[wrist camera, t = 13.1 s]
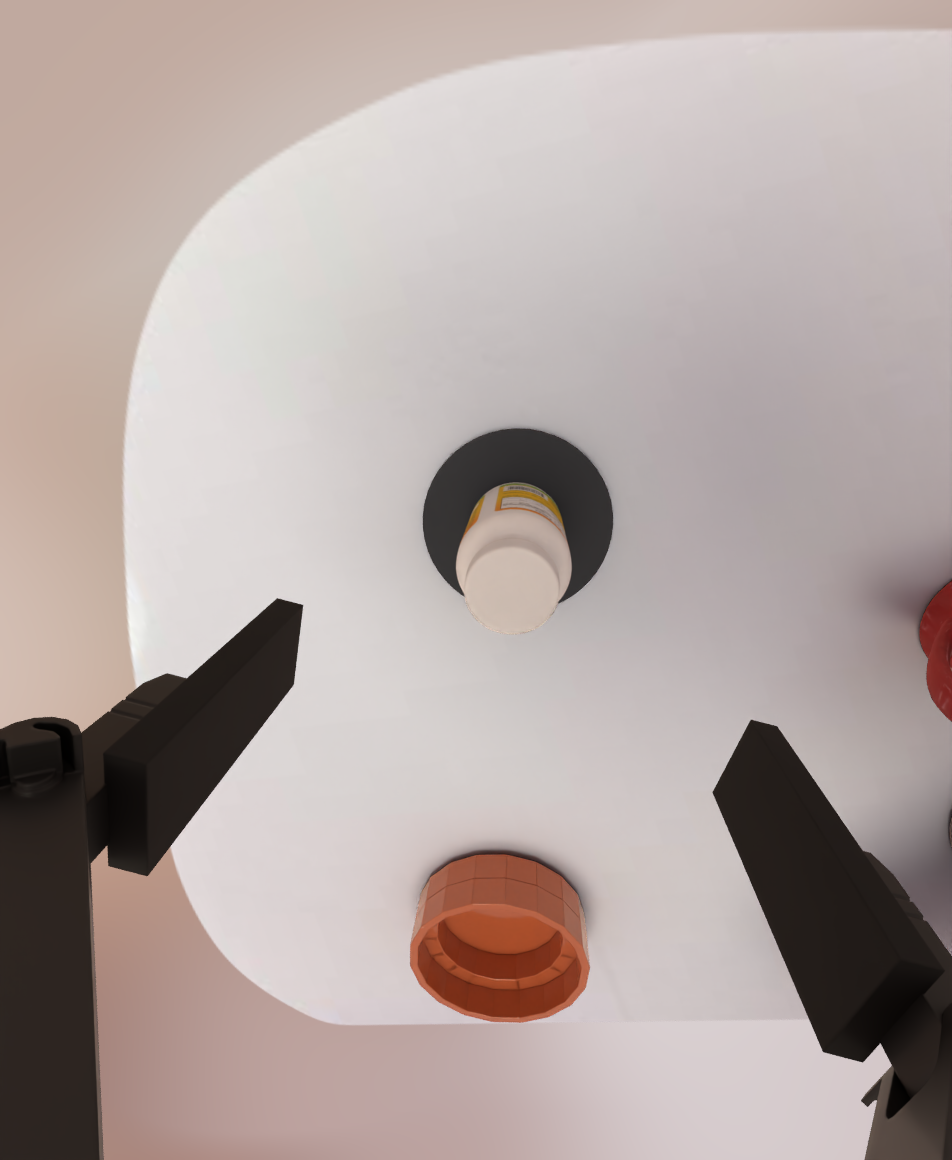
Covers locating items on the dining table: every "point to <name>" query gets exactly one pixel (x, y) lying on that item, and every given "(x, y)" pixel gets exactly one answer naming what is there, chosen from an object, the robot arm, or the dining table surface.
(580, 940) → the bowl
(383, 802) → the dining table surface
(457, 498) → the coaster
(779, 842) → the robot arm
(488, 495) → the supplement bottle
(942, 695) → the mug
